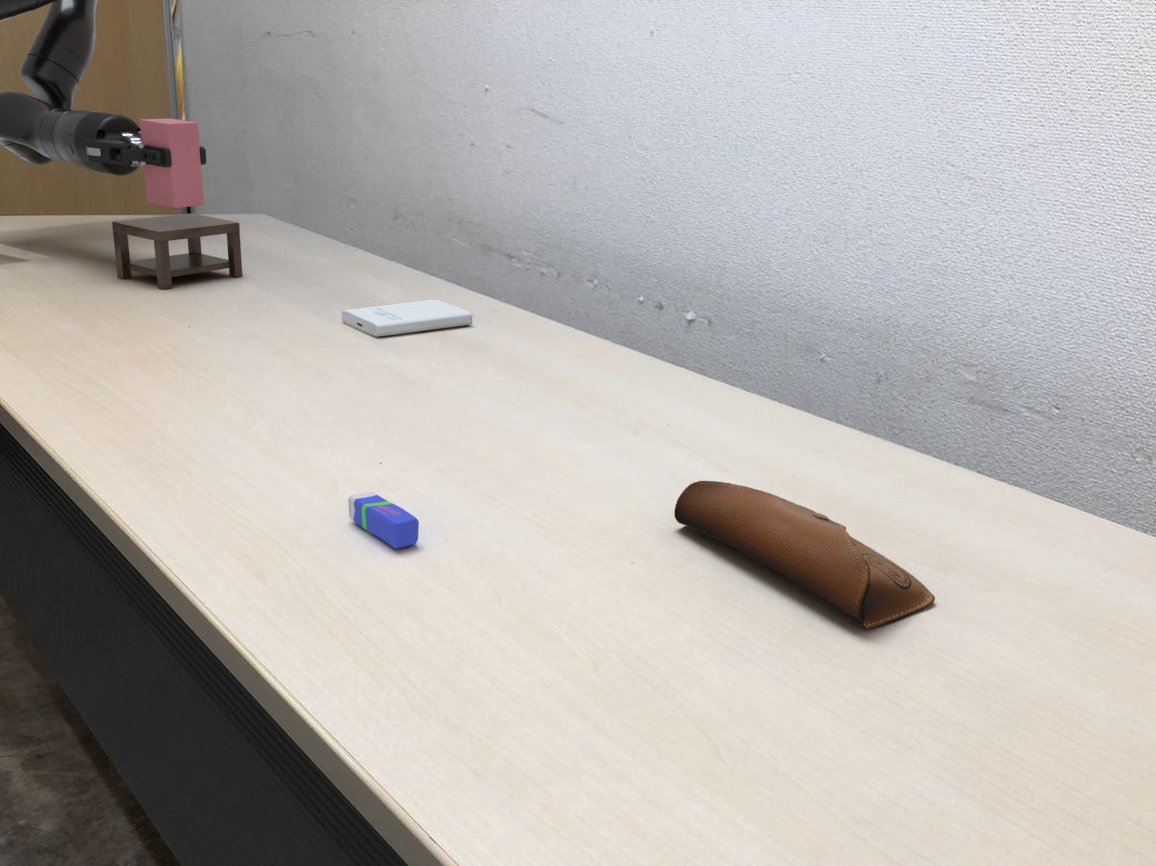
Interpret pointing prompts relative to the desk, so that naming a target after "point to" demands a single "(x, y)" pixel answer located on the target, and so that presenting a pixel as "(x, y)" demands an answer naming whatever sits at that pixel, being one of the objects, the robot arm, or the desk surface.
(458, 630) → the desk surface
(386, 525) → the eraser
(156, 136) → the pink box
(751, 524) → the sunglasses case
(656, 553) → the desk surface
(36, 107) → the robot arm
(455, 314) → the hard drive
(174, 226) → the wooden coffee table
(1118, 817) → the desk surface
